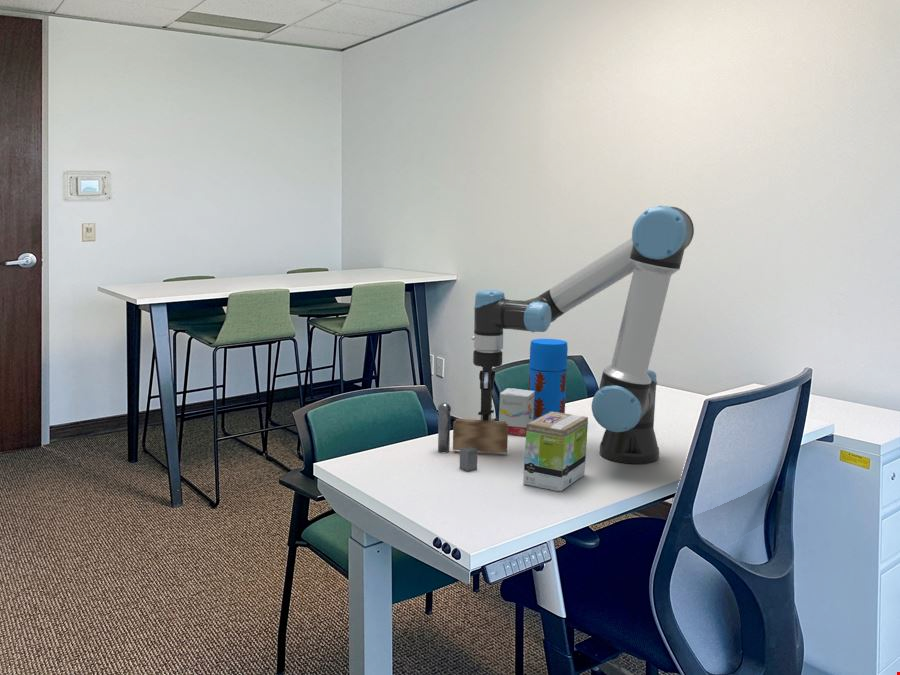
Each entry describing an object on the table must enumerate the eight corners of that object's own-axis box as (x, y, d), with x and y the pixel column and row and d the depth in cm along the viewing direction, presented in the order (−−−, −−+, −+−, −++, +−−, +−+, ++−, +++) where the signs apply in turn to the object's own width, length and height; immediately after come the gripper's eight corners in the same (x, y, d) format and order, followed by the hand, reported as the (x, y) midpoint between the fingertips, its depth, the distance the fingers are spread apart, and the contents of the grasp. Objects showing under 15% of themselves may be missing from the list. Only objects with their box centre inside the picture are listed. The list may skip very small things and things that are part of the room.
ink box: (527, 437, 228) (528, 395, 226) (497, 433, 231) (498, 392, 229) (533, 429, 236) (535, 389, 234) (505, 426, 239) (506, 386, 237)
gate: (452, 449, 211) (453, 420, 210) (453, 447, 213) (454, 418, 212) (506, 453, 209) (507, 423, 208) (507, 450, 211) (508, 421, 210)
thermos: (554, 431, 233) (557, 345, 230) (521, 425, 239) (523, 341, 235) (570, 424, 242) (573, 341, 239) (537, 418, 248) (541, 337, 244)
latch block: (476, 469, 198) (477, 449, 198) (467, 471, 196) (468, 451, 196) (468, 466, 201) (469, 446, 200) (459, 468, 199) (460, 448, 198)
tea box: (562, 493, 183) (565, 429, 181) (522, 485, 188) (524, 422, 186) (586, 475, 196) (588, 415, 194) (547, 467, 201) (549, 409, 199)
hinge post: (452, 451, 212) (453, 403, 210) (442, 453, 210) (443, 405, 208) (444, 448, 215) (445, 400, 213) (434, 450, 213) (435, 402, 211)
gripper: (475, 345, 217) (473, 430, 221) (471, 354, 205) (469, 444, 209) (503, 346, 216) (500, 431, 220) (501, 355, 204) (498, 446, 208)
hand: (485, 437), depth 214 cm, fingers closed
